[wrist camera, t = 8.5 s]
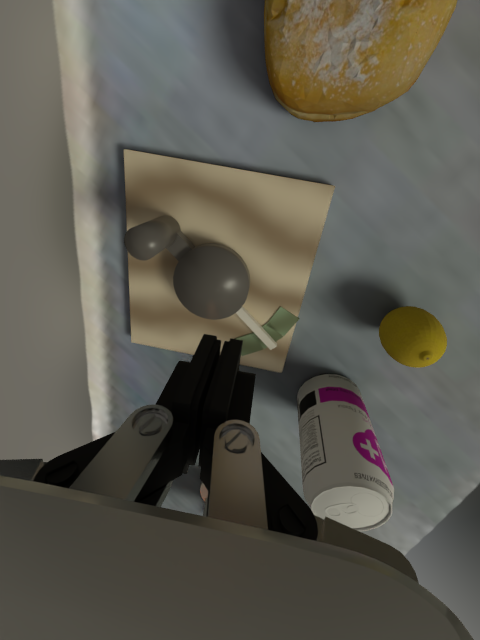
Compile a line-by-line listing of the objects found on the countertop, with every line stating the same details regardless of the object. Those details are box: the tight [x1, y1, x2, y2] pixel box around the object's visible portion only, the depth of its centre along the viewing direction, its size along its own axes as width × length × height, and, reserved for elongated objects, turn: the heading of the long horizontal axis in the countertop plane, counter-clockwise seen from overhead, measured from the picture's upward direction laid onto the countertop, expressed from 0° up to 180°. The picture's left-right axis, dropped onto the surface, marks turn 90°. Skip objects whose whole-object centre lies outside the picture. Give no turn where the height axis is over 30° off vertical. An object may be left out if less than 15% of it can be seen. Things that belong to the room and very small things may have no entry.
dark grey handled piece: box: [124, 215, 277, 350], centre depth 29 cm, size 19×8×6 cm, turn 42°
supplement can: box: [297, 374, 394, 531], centre depth 32 cm, size 8×8×15 cm
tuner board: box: [124, 149, 335, 373], centre depth 32 cm, size 22×20×1 cm
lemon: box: [379, 306, 447, 367], centre depth 29 cm, size 6×6×8 cm
